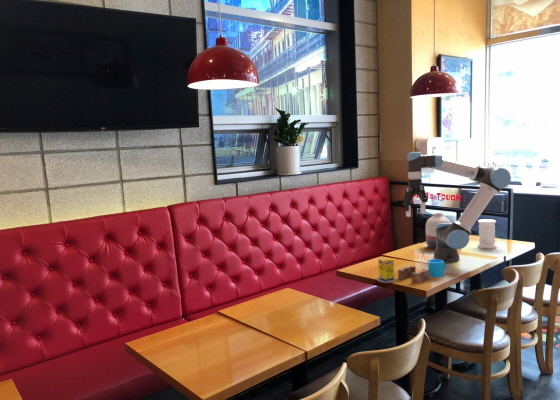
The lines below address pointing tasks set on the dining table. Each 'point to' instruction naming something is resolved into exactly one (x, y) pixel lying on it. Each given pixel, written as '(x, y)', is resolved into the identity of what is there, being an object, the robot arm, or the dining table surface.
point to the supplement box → (386, 269)
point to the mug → (436, 267)
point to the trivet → (386, 281)
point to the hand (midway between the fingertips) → (415, 214)
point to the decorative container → (487, 233)
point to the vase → (434, 228)
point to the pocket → (413, 274)
